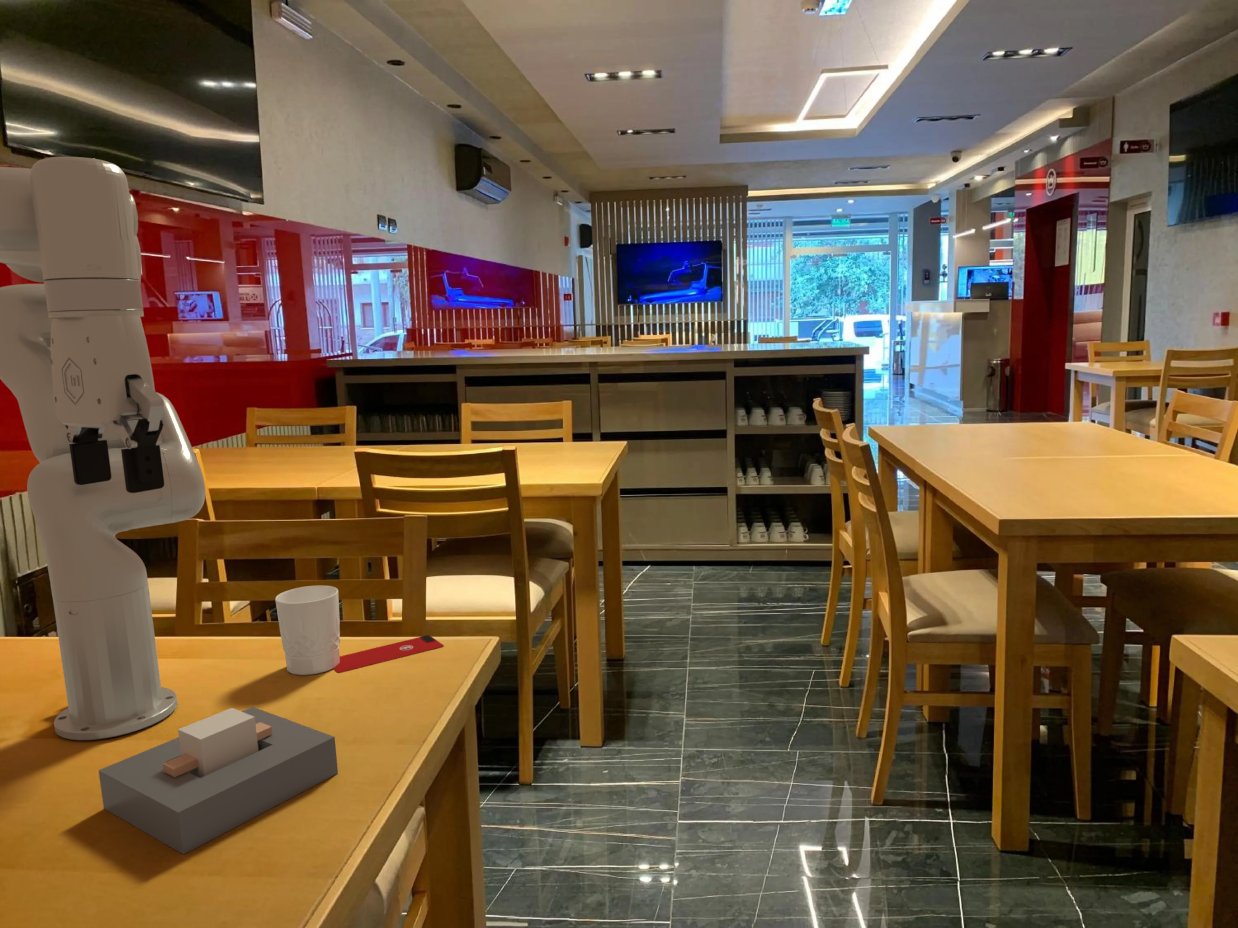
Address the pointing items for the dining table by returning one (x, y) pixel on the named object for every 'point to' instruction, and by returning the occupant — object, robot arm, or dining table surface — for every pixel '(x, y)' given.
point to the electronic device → (387, 653)
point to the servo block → (216, 743)
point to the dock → (217, 784)
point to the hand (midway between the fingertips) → (118, 486)
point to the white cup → (309, 628)
